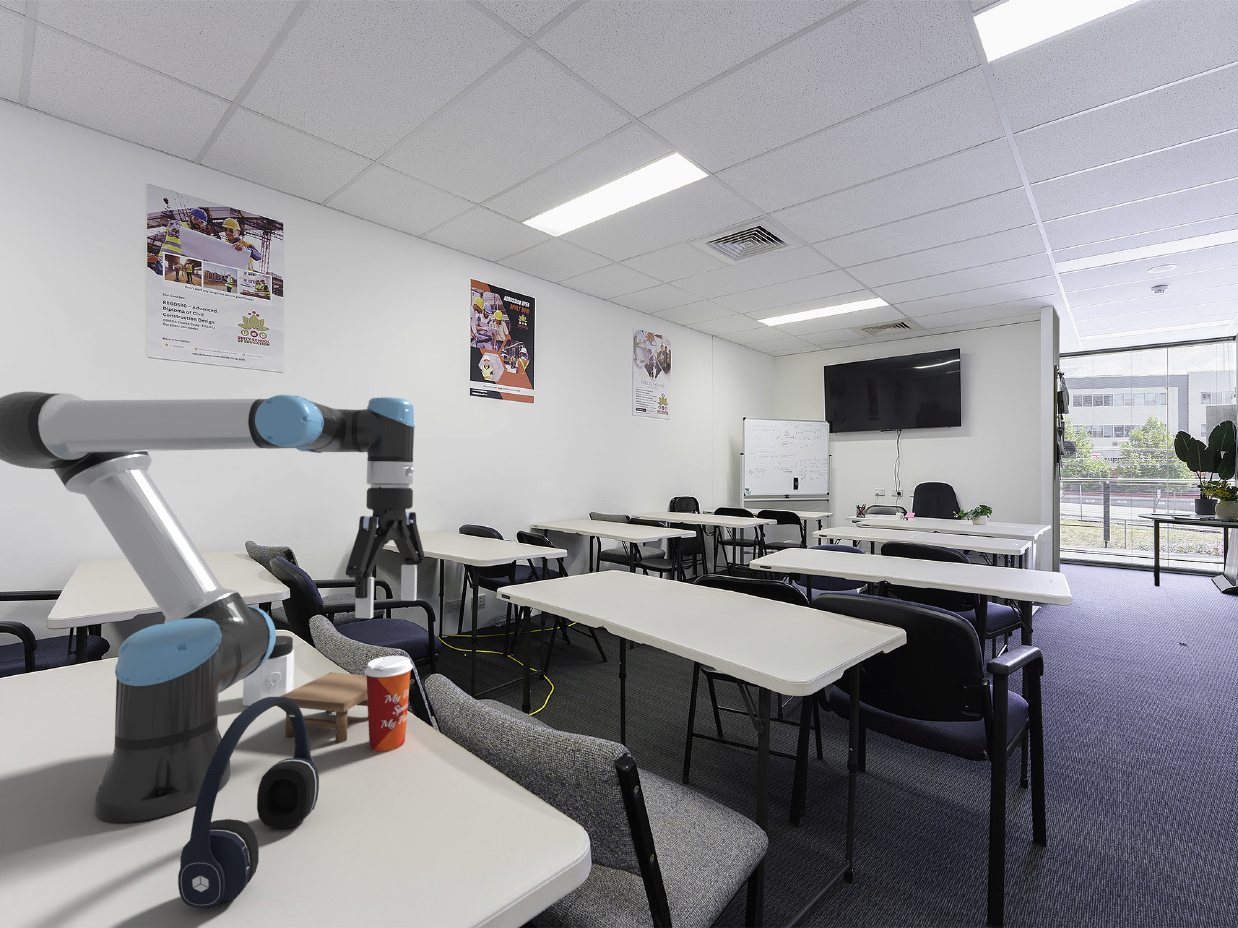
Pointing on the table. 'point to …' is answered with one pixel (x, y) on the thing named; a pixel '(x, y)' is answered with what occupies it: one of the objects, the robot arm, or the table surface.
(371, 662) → the paper cup
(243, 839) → the headphones
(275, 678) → the jar
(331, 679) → the stool
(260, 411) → the robot arm
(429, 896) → the table surface
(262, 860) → the table surface
